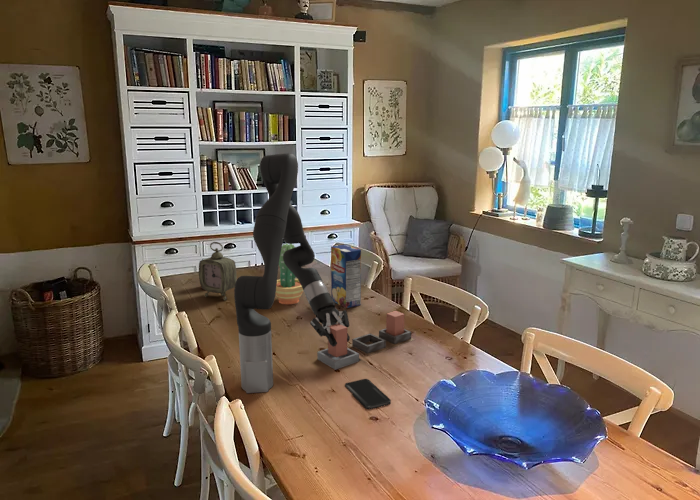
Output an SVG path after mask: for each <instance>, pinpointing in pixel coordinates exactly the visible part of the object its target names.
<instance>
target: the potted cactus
mask: <svg viewBox="0 0 700 500" xmlns="http://www.w3.org/2000/svg"><path fill="white" fill-rule="evenodd" d="M295 247H296V246H295V244H288V243H285V244H282V248H281V253H280V259H279V266H278V268H279V271H280V272H279V279H277V285H276V294H275V297H277V299H278V303H279V304H282V305H295V304H298V303H299V302H300V298H301V297H302V295H303V293H304V290H303V288H302V286H301V284H300V282H299V280H298V279H297V278H296V276H295V275H294V274H293V273H292V272H291V271H290V270H289V269H288V267H287V266H286V265H285V263H284V261H283V254H284V252H285V251H287V250H289V249H292V248H295Z"/></svg>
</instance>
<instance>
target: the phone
mask: <svg viewBox="0 0 700 500" xmlns="http://www.w3.org/2000/svg"><path fill="white" fill-rule="evenodd" d="M344 386H345V388H347V389H348V391H349V392H350V393H351V395H352V396H353V397H354V399H356V400H357V401H358V403H359V404H360V405H361V406H362V407H363V408H365V409H366V410H373V408H374V409H377V407H378V408H381V406H382V407H384V405H385V406H389V405H391V401H392V400H391V399H390V398H389V397H388V396H387V395H386V394H385V393H384V392H383V391H382V390H381V389H379V388H378V386H376V385H375V384H374V383H373V382H372V381H371V380H370V379H369V378H362V379H358V380H354V381H349V382H346V383H344ZM388 404H389V405H388Z"/></svg>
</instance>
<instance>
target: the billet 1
mask: <svg viewBox="0 0 700 500" xmlns="http://www.w3.org/2000/svg"><path fill="white" fill-rule="evenodd" d="M330 329H331V334H333V336H334V338H335V340H336V341H337V345H336V346H334V347H333V346H332V345H330V343H329V341H328V340H327V349H328V353H329V354H331V355H333V356H335V357H339V356H342V355H345V354H347V348H348V342H347V333H348V328H347V327H345V326H343V325H341V324H335V325H331V327H330Z"/></svg>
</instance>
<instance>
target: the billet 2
mask: <svg viewBox="0 0 700 500" xmlns="http://www.w3.org/2000/svg"><path fill="white" fill-rule="evenodd" d="M385 318H386V321H385V322H386V324H385V326H386V328H385V329H386V333H388V334H391V335H393V336H397V335H400V334H403V333H404V329H405V313H403V312H400V311H397V310H394V311H391V312H388V313H386V317H385Z"/></svg>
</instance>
